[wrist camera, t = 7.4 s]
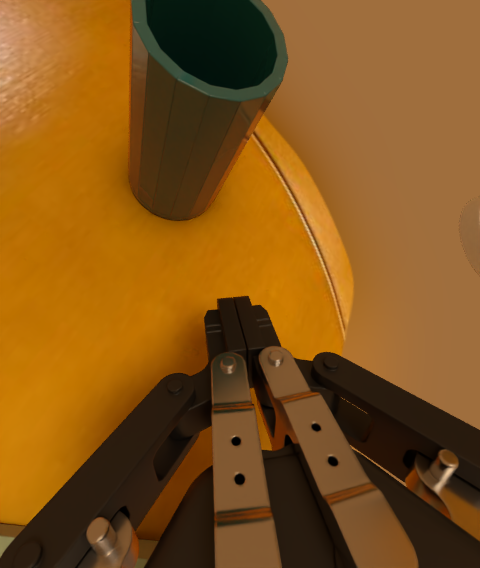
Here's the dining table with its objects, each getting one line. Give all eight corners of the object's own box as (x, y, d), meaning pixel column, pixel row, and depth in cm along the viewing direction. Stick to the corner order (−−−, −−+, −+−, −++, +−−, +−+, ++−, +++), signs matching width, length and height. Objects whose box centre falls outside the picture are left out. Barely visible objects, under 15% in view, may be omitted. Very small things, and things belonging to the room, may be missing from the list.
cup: (224, 164, 23) (299, 19, 13) (202, 233, 22) (269, 127, 11) (146, 127, 22) (163, -68, 12) (114, 199, 20) (103, 41, 10)
